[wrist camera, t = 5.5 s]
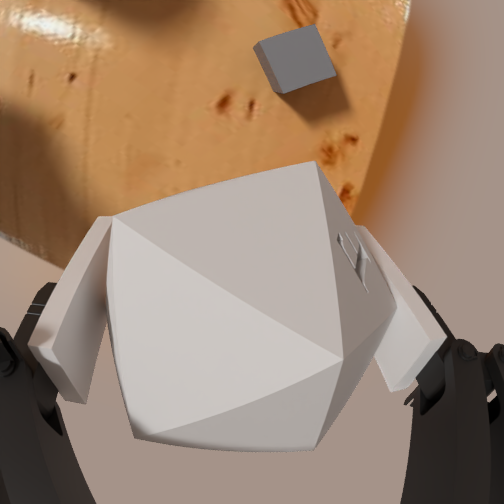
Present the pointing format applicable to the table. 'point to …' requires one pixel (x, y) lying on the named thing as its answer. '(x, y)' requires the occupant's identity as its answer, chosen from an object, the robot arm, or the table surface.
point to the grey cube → (294, 59)
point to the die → (243, 312)
